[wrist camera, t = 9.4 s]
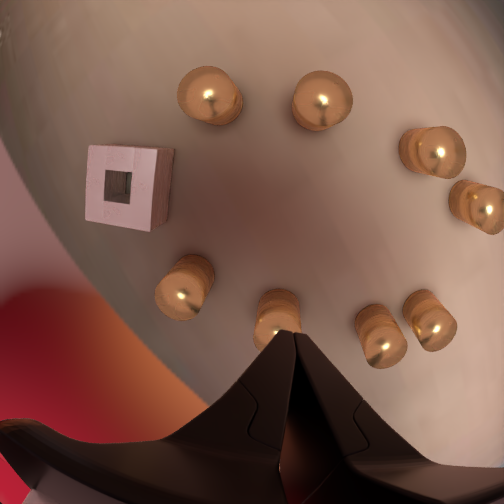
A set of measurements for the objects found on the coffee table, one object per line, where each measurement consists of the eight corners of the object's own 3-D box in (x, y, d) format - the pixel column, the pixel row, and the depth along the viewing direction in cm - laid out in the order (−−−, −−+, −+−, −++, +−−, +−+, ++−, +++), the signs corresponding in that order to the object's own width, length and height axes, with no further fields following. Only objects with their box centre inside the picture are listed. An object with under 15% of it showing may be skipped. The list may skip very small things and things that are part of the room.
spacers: (417, 349, 22) (433, 379, 18) (165, 296, 22) (145, 323, 19) (489, 157, 16) (521, 162, 13) (206, 65, 17) (188, 47, 13)
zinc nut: (167, 220, 20) (149, 231, 18) (107, 210, 21) (85, 220, 18) (174, 148, 19) (157, 149, 16) (112, 144, 19) (89, 145, 16)
